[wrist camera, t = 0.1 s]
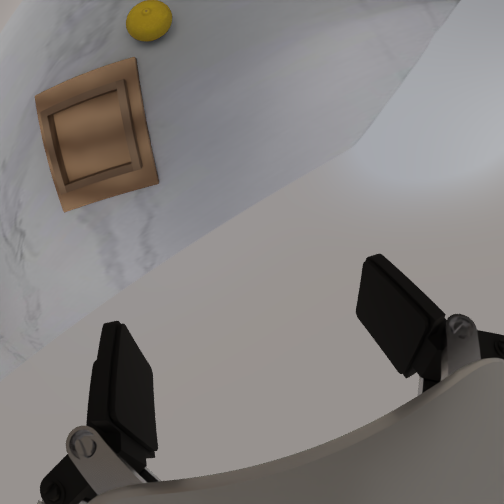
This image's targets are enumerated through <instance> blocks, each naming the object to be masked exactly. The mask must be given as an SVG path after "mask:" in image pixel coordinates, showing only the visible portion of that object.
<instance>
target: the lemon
mask: <svg viewBox="0 0 504 504" xmlns="http://www.w3.org/2000/svg"><path fill="white" fill-rule="evenodd" d="M171 23H172V13H171V10H170V9H169V7H168V6H167V5H166V4H164V3H163V2H161V1H158V0H147V1H143V2H141V3H139V4H137V5H136V6H135V7H133V8H132V10H131V11H130V12H129V14H128V16H127V20H126V28H127V30H128V33H129V34H130V35H131V36H132V37H133V38H135V39H137V40H139V41H153V40H156V39H158V38H160V37H161V36H163V35H164V34H165V33H166V32H167V31H168V29H169V28H170V26H171Z"/></svg>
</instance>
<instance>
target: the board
mask: <svg viewBox="0 0 504 504" xmlns="http://www.w3.org/2000/svg"><path fill="white" fill-rule="evenodd" d="M35 102H36V108H37V114H38V120H39V125H40V130H41V134H42V139H43V143H44V148H45V152H46V156H47V160H48V163H49V167H50V171H51V174H52V177H53V181H54V184H55V187H56V190H57V194H58V197H59V200H60V203H61V205H62V208H63V211H64V212H67V211H70V210H73V209H76V208H79V207H82V206H85V205H88V204H91V203H94V202H97V201H100V200H103V199H106V198H110V197H113V196H116V195H120V194H123V193H127V192H130V191H134V190H137V189H141V188H145V187H149V186H152V185H156V184H159V179H158V174H157V170H156V166H155V161H154V157H153V152H152V147H151V143H150V138H149V133H148V128H147V122H146V117H145V111H144V106H143V100H142V94H141V88H140V81H139V75H138V68H137V60H136V58H135V57H132V58H129V59H125V60H122V61H119V62H115V63H112V64H109V65H106V66H103V67H100V68H98V69H95V70H92V71H89V72H87V73H84V74H82V75H79V76H77V77H74V78H72V79H70V80H67V81H65V82H63V83H60V84H58V85H56V86H54V87H52V88H50V89H48V90H46V91H44V92H42V93H40V94H38V95H36V96H35Z"/></svg>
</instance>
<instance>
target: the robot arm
mask: <svg viewBox="0 0 504 504" xmlns="http://www.w3.org/2000/svg"><path fill="white" fill-rule="evenodd" d="M356 314H357V317H358V319H359V320H360V321H361V323H362V324H363V325H364V326H365V328H366V329H367V330H368V332H369V333H370V334H371V336H372V337H373V338H374V339H375V341H376V342H377V344H378V345H379V346H380V348H381V349H382V351H383V352H384V353H385V355H386V356H387V357H388V359H389V360H390V361H391V363H392V364H393V365H394V367H395V368H396V370H397V371H398V372H399V373H400V374H403V375H404V376H405V378H408V377H410V376H412V375H413V374H415V373H416V372H417V373H418V374H419V376H420V377H419V388H418V396H417V397H416V398H414V399H412V400H411V401H409V402H407V403H406V404H404V405H402V406H401V407H399V408H397V409H396V410H394V411H392V412H390V413H388V414H386V415H384V416H383V417H381V418H379V419H377V420H375V421H373V422H371V423H369V424H367V425H365V426H363V427H361V428H358V429H356V430H354V431H352V432H350V433H348V434H345V435H343V436H341V437H339V438H336V439H334V440H331V441H329V442H326V443H324V444H322V445H319V446H316V447H314V448H311V449H308V450H305V451H302V452H299V453H296V454H294V455H290V456H287V457H284V458H281V459H277V460H274V461H271V462H267V463H263V464H259V465H255V466H252V467H248V468H243V469H239V470H235V471H229V472H224V473H219V474H213V475H207V476H201V477H194V478H187V479H179V480H170V481H161V480H160V479H159V478H157V477H156V476H155V475H154V474H153V473H152V472H151V471H150V470H149V469H148V468H147V467H146V458H155V452H154V451H157V449H158V443H157V433H156V423H155V408H154V392H153V373H152V369H151V367H150V365H149V363H148V362H147V360H146V359H145V357H144V355H143V354H142V352H141V351H140V349H139V347H138V346H137V344H136V342H135V341H134V339H133V337H132V336H131V334H130V333H129V330H128V329H127V327H126V325H125V324H121V323H120V322H119V321H114V322H109V323H105V324H104V325H103V328H102V333H101V338H100V344H99V350H98V356H97V360H96V361H95V362H94V364H93V369H92V376H91V383H90V391H89V401H88V411H87V412H88V413H87V425H86V426H79V427H76V428H75V429H73V430H72V431H71V432H70V433H69V435H68V437H67V440H66V450H67V453H68V454H67V455H66V456H65V457H64V458H63V459H62V460H61V461H60V462H59V463H58V464H57V465H56V466H55V467H54V468H53V469H52V471H50V472H49V474H47V475H46V477H45V478H44V479H43V480H42V482H41V485H40V493H41V497H42V499H43V500H42V501H38V503H37V504H504V335H500V334H495V333H489V332H484V331H478V330H477V329H476V326H475V324H474V322H473V321H472V320H471V319H470V318H469V317H467V316H465V315H462V314H453V315H451V316H450V317H448V319H447V320H446V319H445V318H444V317H445V313H444V312H443V311H442V310H441V309H439V308H438V306H437V305H436V304H435V303H433V301H431V299H429V298H428V297H427V296H426V295H425V294H424V293H423V292H422V291H421V290H420V289H419V288H418V287H417V286H416V285H415V284H414V283H413V282H412V281H411V280H410V279H408V278H407V277H406V276H405V275H404V274H403V273H402V272H401V271H400V270H399V269H397V268H396V267H395V266H394V265H393V264H392V263H391V262H390V261H389V260H387V259H386V258H385V257H384V256H383V255H382V254H376V255H373V256H370V257H367V258H366V261H365V262H364V263H363V268H362V276H361V282H360V288H359V295H358V301H357V306H356Z"/></svg>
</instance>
